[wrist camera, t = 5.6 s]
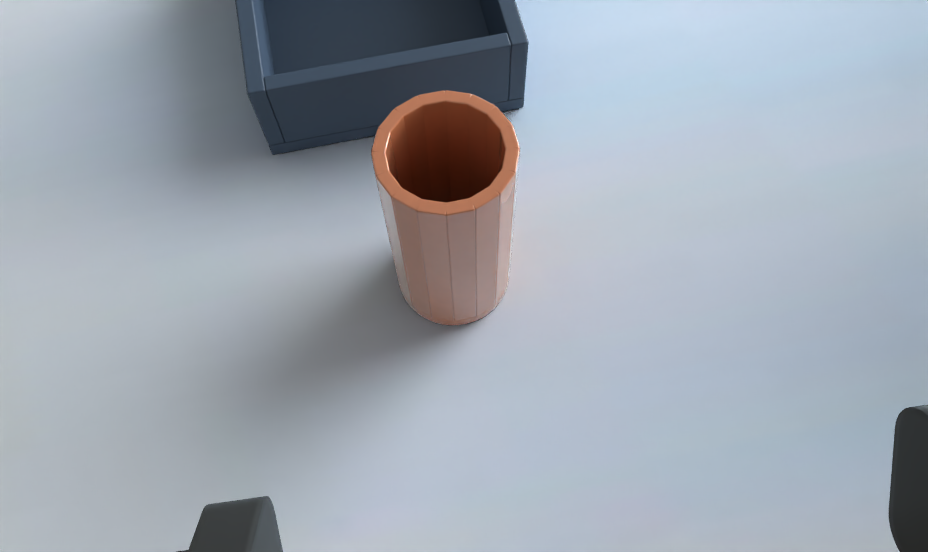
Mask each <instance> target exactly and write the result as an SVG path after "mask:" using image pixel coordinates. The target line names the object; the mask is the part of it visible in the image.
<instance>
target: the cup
mask: <svg viewBox="0 0 928 552" xmlns="http://www.w3.org/2000/svg"><path fill="white" fill-rule="evenodd" d="M371 156H372V161H373V166H374V171H375V176H376V181H377V186H378V190H379V195H380V199H381V204H382V208H383V213H384V218H385V222H386V227H387V231H388V236H389V240H390V245H391V250H392V254H393V259H394V263H395V268H396V272H397V277H398V282H399V286H400V289H401V292H402V294H403V297H404V298H405V300H406V302H407V303H408V304H409V306H410V307H411V308H412V309H413V310H414V311H415V312H416V313H418V314H419V315H420V316H422V317H424V318H426V319H427V320H429V321H432V322H435V323H439V324H443V325H462V324H468V323H471V322H474V321H477V320H479V319H481V318H483V317H484V316H486V315H487V314H489V313H490V312H491V311H492V310H493V309H494V308H496V307H497V305H498V304H499V303H500V301H501V300H502V298H503V296H504V295H505V292H506V290H507V286H508V282H509V273H510V267H511V255H512V242H513V230H514V218H515V205H516V193H517V181H518V169H519V156H520V147H519V143H518V140H517V136H516V133H515V130H514V127H513V125H512V123H511V122H510V121H509V120H508V119H507V118H506V117H505V115H504V114H503V113H502V112H501V111H500V110H499V109H498V107H496V106H495V105H493V104H491V103H489V102H487V101H486V100H484V99H482V98H480V97H478V96H476V95H474V94H473V95H472V94H470V93H463V92H456V91H448V90H445V91H444V90H442V91H437V92H432V93H426V94H421V95H418V96H415V97H413V98H411V99H410V100H408V101H406V102H404V103H403V104H401V105H399V106H397V107H396V108H395V109H393V110H392V111H391V113H390V114H389V115H388V116H387V117H386V119H385V120H384V121H383V122H382V124H381V125H380V126H379V127H378V129H377V132H376V135H375V139H374V143H373V146H372V150H371Z"/></svg>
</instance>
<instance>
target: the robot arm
mask: <svg viewBox="0 0 928 552" xmlns="http://www.w3.org/2000/svg"><path fill="white" fill-rule="evenodd" d="M889 523H890V528H891V532H892V535H893V538H894V541H895V543H896V545H897V548H898V550H899V551H900V552H928V405H923V406H916V407H909V408H906V409H904V410H902V412H901V413H900V414H899V416H898V418H897V421H896V425H895V435H894V448H893V461H892V474H891V487H890V501H889ZM178 552H283V550H282V545H281V540H280V535H279V530H278V525H277V520H276V515H275V511H274V507H273V504H272V501H271V500H270V498H269V497H268V496H265V497H258V498H251V499H243V500H236V501H229V502H222V503H215V504H208V505H206V506H205V507H204V509H203V511H202V514H201V517H200V519H199V522H198V525H197V528H196V531H195V533H194V536H193V539H192V542H191V544H190V547H189V550H185V551H178Z"/></svg>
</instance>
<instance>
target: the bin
mask: <svg viewBox="0 0 928 552" xmlns="http://www.w3.org/2000/svg"><path fill="white" fill-rule="evenodd" d="M235 2H236V9H237V17H238V25H239V33H240V41H241V49H242V56H243V64H244V72H245V80H246V88H247V94H248V97H249V99H250V101H251V104H252V106H253V109H254V111H255V113H256V116H257V118H258V121H259V123H260V125H261V128H262V130H263V133H264V135H265V137H266V140H267V142H268V144H269V147H270V150H271V152H272V154H273V155H275V154H280V153H285V152H290V151H296V150H301V149H306V148H311V147H317V146H322V145H327V144H333V143H338V142H343V141H348V140H354V139H359V138H364V137H369V136H375V135H376V132H377V129H378V127H379V126H380V125H381V124H382V122H383V121H384V120H385V119H386V117H387V116H388V115H389V114H390V113H391V111H392V110H393V109H395V108H396V107H397V106H399V105H401V104H403V103H404V102H406V101H408V100H410V99H411V98H413V97H415V96H418V95H421V94H426V93H432V92H437V91H442V90H444V91H445V90H448V91H456V92H463V93H470V94H472V95H473V94H474V95H476V96H478V97H480V98H482V99H484V100H486V101H487V102H489V103H491V104H493V105H495V106H496V107H498V109H499V110H500V111H507V110H512V109H517V108H522V107H523V104H524V90H525V78H526V65H527V53H528V39H527V36H526V33H525V30H524V27H523V24H522V21H521V18H520V14H519V11H518V8H517V5H516V2H515V0H235Z"/></svg>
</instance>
